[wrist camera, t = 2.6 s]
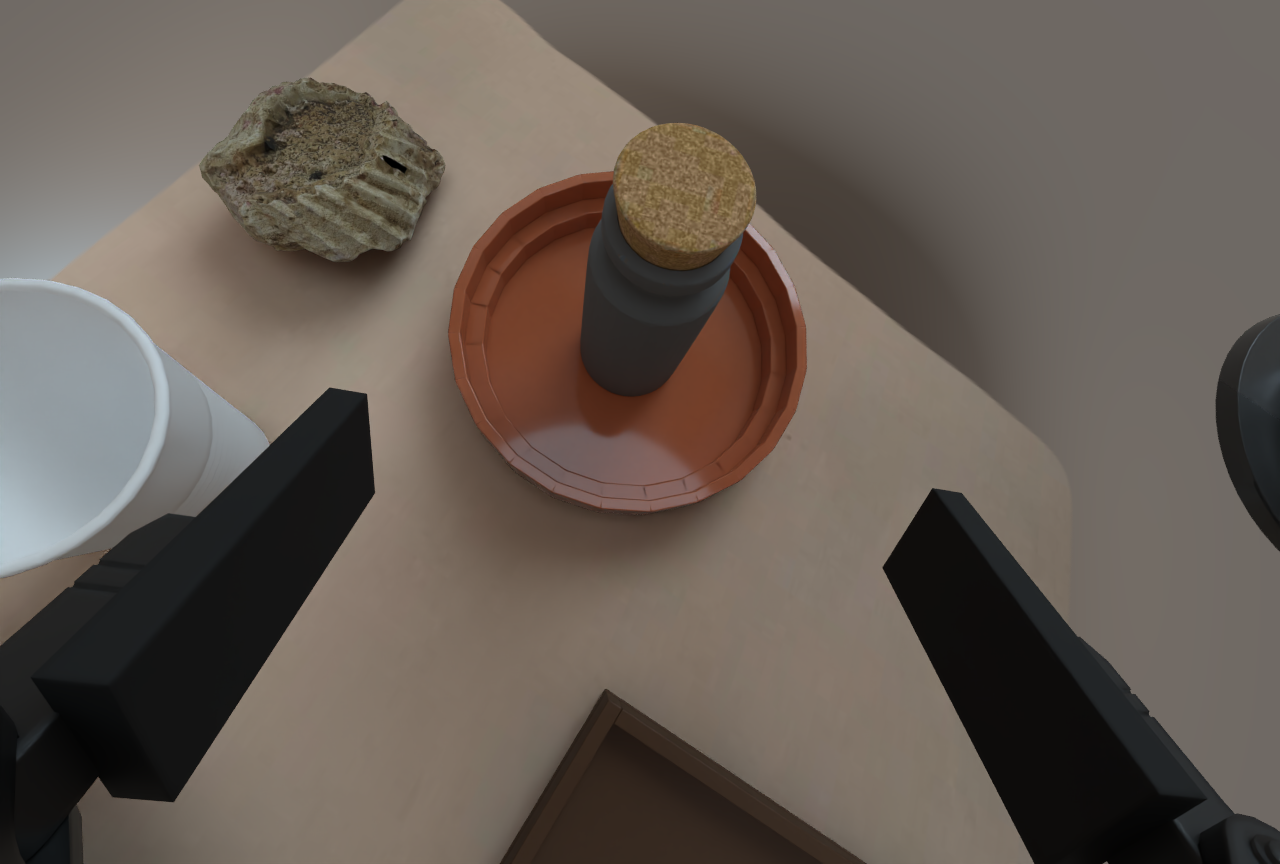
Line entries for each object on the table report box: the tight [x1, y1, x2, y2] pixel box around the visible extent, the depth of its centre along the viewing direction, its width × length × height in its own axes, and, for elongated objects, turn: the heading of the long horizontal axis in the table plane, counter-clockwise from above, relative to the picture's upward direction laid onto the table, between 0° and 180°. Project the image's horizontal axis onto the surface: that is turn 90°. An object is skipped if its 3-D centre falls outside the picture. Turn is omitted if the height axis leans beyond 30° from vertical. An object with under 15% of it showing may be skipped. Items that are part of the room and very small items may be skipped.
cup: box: [0, 278, 270, 578], centre depth 22 cm, size 10×10×11 cm
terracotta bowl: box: [448, 171, 807, 515], centre depth 30 cm, size 19×19×4 cm
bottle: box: [580, 123, 756, 396], centre depth 24 cm, size 6×6×15 cm
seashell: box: [199, 78, 445, 262], centre depth 29 cm, size 11×7×10 cm
